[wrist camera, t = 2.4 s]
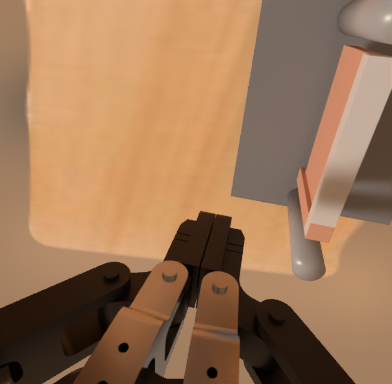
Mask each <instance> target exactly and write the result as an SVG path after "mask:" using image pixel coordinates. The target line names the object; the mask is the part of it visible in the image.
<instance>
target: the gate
mask: <svg viewBox="0 0 392 384" xmlns="http://www.w3.org/2000/svg"><path fill="white" fill-rule="evenodd" d="M391 89H392V56H388V55H385V54H381V53H378V52H375V51H372V50H368V49H365V48H362V47H359V46H351V45H344V47H343V50H342V53H341V57H340V60H339V63H338V66H337V70H336V73H335V76H334V80H333V83H332V86H331V89H330V93H329V96H328V99H327V103H326V106H325V109H324V112H323V116H322V119H321V122H320V126H319V129H318V132H317V135H316V139H315V142H314V145H313V149H312V152H311V155H310V158H309V162H308V165H307V168H304V167H300V170H299V173H298V177H297V185H298V192H299V199H300V206H301V213H302V220H303V227H304V234H305V238H306V239H311V240H316V241H321V242H326V243H329V241H330V238H331V236H332V233H333V231H334V229H335V226H336V224H337V221H338V219H339V216H340V214H341V211H342V209H343V207H344V204H345V202H346V199H347V197H348V194H349V192H350V189H351V187H352V185H353V182H354V180H355V177H356V175H357V172H358V170H359V167H360V165H361V163H362V160H363V158H364V155H365V153H366V150H367V148H368V146H369V143H370V141H371V138H372V136H373V133H374V131H375V128H376V126H377V124H378V121H379V119H380V116H381V114H382V111H383V109H384V106H385V104H386V102H387V99H388V97H389V94H390V92H391Z"/></svg>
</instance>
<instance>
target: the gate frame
mask: <svg viewBox="0 0 392 384" xmlns="http://www.w3.org/2000/svg"><path fill="white" fill-rule="evenodd" d="M344 45H351V46H359V47H362V48H365V49H368V50H372V51H375V52H378V53H381V54H385V55H388V56H392V0H263V1H262V7H261V13H260V19H259V25H258V32H257V38H256V44H255V50H254V56H253V62H252V69H251V75H250V81H249V87H248V93H247V99H246V106H245V112H244V118H243V124H242V130H241V136H240V143H239V149H238V155H237V161H236V167H235V173H234V179H233V186H232V192H231V196H234V197H240V198H245V199H250V200H256V201H261V202H267V203H272V204H278V205H283V206H288V219H289V232H290V246H291V260H292V271H293V273H294V275H295V276H296V277H298V278H299V279H301V280H306V281H314V280H317V279H320V278H321V277H322V276H323V275H324V274H325V271H326V269H325V264H324V259H323V254H322V249H321V244H320V241H316V240H311V239H306V238H305V234H304V227H303V220H302V213H301V206H300V199H299V192H298V185H297V177H298V173H299V170H300V167H304V168H307V165H308V162H309V158H310V155H311V152H312V149H313V145H314V142H315V139H316V135H317V132H318V129H319V126H320V122H321V119H322V116H323V112H324V109H325V106H326V103H327V99H328V96H329V93H330V89H331V86H332V83H333V80H334V76H335V73H336V70H337V66H338V63H339V60H340V57H341V53H342V50H343V47H344ZM340 216H343V217H349V218H354V219H359V220H365V221H370V222H376V223H381V224H387V225H389V224H390V222H391V220H392V89H391V92H390V94H389V97H388V99H387V102H386V104H385V106H384V109H383V111H382V114H381V116H380V119H379V121H378V124H377V126H376V128H375V131H374V133H373V136H372V138H371V141H370V143H369V146H368V148H367V150H366V153H365V155H364V158H363V160H362V163H361V165H360V167H359V170H358V172H357V175H356V177H355V180H354V182H353V185H352V187H351V189H350V192H349V194H348V197H347V199H346V202H345V204H344V207H343V209H342V211H341V214H340Z"/></svg>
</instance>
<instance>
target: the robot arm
mask: <svg viewBox="0 0 392 384" xmlns="http://www.w3.org/2000/svg"><path fill="white" fill-rule="evenodd" d="M215 216H216V218H215ZM231 220H232V217H229V216H224V215H219V214H217V215H216V214H213V213H208V212H203V211H200V213H199V216H198V218H197V221H194V220H189V219H187V220H186V221H185V222H183V223H182V224H181V225H180V226H179V229H178V231H177V234H176V235H175V237H174V240H173V241H172V244H171V246H170V248H169V250H168V252H167V254H166V256H165V259H164V261H163V262H161V263H159V264H157V265H156V266H155V267H154V268H153V270H152V271H149V272H139V273H130V270H129V268H128V267H127V266H126V265H125V264H123V263H120V262H109V263H105V264H103V265H100V266H98V267H96V268H93V269H91V270H89V271H86V272H84V273H82V274H79V275H77V276H75V277H73V278H70V279H68V280H65V281H63V282H61V283H58V284H56V285H54V286H51V287H49V288H47V289H45V290H42V291H40V292H37V293H35V294H33V295H30V296H28V297H26V298H23V299H21V300H19V301H16V302H14V303H12V304H9V305H7V306H5V307H3V308H0V384H42V383H44V382H46V381H47V380H49V379H51V378H52V377H54V376H56V375H57V374H59V373H61V372H62V371H64V370H66V369H67V368H69V367H70V366H72V365H74V364H76V363H77V362H79V361H81V360H82V359H84V358H86V357H87V356H89V355H91V356H90V357H89V359H88V361H87V362H86V364H85V365H84V367H82V368H79V369H77V370H75V371H73V372H71V373H69V374H68V375H66V376H64V377H63V378H61V379H60V380H58V381H57V382H55V383H54V384H239V358H241V359H243V361H244V365H245V368H246V370H247V371H248V373H249V375H250V377H251V378H252V380H253V382H254V383H255V384H355V383H354V382H353V380H352V379H351V378H350V377H349V376H348V374H347V373H346V372H345V371H344V370H343V369H342V367H341V366H340V365H339V364H338V363H337V361H336V360H335V359H334V358H333V357H332V356H331V354H330V353H329V352H328V351H327V350H326V349H325V347H324V346H323V345H322V344H321V342H320V341H319V340H318V339H317V338H316V337H315V335H314V334H313V333H312V332H311V331H310V329H309V328H308V327H307V326H306V325H305V324H304V322H303V321H302V320H301V319H300V318H299V316H297V314H296V313H295V312H294V311H293V310H292V308H291V307H290V306H288V305H287V304H285V303H284V302H282V301H279V300H275V299H267V300H264V301H262V302H259V301H257V300H255V299H253V298H251V297H250V296H249V295H247V294H246V293H245V292H244V291H243V289H242V288H241V286H240V283H239V276H240V269H241V262H242V254H243V247H244V239H245V237H244V235H243V233H242V231H241V230H239V229H234V228H230V225H231ZM196 300H197V303H196ZM195 303H196V308H197V312H196V317H195V323H194V327H193V331H192V336H191V342H190V347H189V353H188V359H187V365H186V370H185V376H184V379H166V378H164V374H165V370H166V367H167V364H168V362H169V359H170V356H171V354H172V351H173V349H174V346H175V344H176V341H177V339H178V336H179V334H180V331H181V329H182V326H183V323H184V318H185V315H186V313H187V309H188V307H192V308H194V307H195Z"/></svg>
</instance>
